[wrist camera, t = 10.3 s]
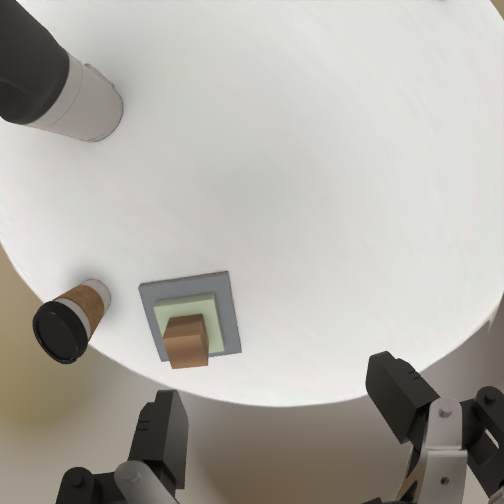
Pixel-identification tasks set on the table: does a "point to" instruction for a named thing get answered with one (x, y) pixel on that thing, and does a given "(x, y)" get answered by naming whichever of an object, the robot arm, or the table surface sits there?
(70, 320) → the coffee cup
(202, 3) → the table surface
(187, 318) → the walnut block
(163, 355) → the stack base
